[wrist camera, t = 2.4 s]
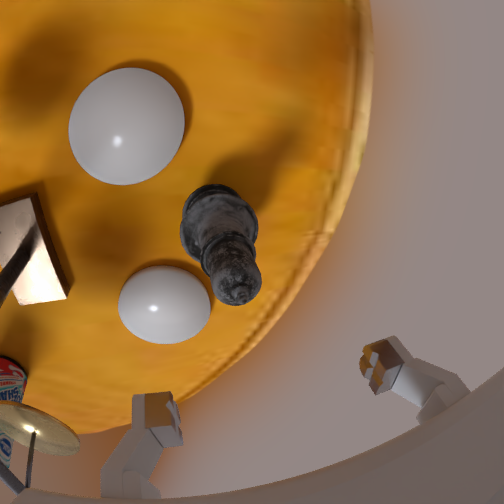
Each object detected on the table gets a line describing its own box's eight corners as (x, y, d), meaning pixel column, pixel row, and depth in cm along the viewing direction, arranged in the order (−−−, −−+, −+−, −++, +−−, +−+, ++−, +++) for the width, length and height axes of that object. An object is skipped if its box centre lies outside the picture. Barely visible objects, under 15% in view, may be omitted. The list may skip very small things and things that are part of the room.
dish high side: (107, 273, 25) (105, 279, 24) (202, 258, 27) (203, 263, 26) (134, 342, 30) (133, 348, 29) (214, 329, 31) (216, 336, 30)
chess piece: (255, 187, 25) (315, 259, 15) (238, 249, 27) (278, 345, 17) (186, 174, 23) (196, 243, 13) (173, 240, 25) (178, 341, 15)
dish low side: (66, 84, 17) (62, 84, 16) (179, 60, 18) (179, 58, 17) (84, 191, 21) (80, 195, 20) (190, 171, 23) (190, 174, 22)
